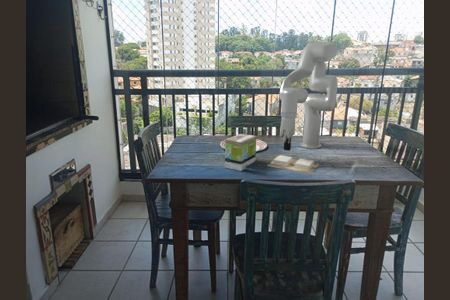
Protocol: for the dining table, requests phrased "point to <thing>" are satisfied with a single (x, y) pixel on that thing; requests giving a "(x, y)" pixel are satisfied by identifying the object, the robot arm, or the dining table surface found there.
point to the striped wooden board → (291, 167)
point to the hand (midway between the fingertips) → (287, 149)
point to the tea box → (240, 151)
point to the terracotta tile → (282, 160)
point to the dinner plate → (259, 145)
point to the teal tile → (304, 164)
